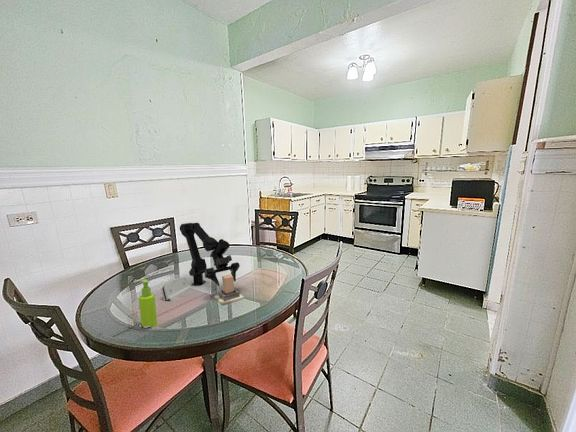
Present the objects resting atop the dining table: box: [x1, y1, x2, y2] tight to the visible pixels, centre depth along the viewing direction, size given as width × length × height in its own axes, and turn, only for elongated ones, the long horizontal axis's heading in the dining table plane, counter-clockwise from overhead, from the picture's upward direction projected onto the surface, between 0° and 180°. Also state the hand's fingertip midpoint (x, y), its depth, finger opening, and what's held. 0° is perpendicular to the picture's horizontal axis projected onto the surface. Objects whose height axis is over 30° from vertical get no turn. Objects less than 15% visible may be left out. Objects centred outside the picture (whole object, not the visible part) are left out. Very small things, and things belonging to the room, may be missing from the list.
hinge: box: [160, 277, 193, 302], centre depth 140 cm, size 17×5×10 cm, turn 162°
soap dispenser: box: [138, 278, 158, 327], centre depth 108 cm, size 6×7×20 cm
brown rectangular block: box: [221, 274, 235, 295], centre depth 132 cm, size 4×4×11 cm
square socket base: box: [213, 288, 245, 306], centre depth 133 cm, size 12×12×4 cm
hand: (227, 283), depth 133 cm, fingers open, 9 cm apart
